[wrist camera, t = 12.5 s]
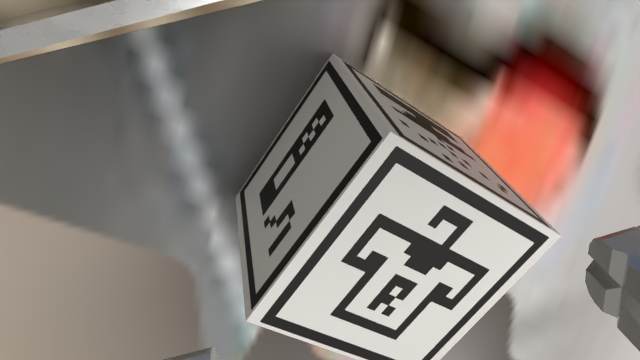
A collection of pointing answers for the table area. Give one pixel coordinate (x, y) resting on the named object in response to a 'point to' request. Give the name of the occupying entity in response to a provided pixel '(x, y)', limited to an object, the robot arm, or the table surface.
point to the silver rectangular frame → (81, 21)
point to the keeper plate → (8, 3)
